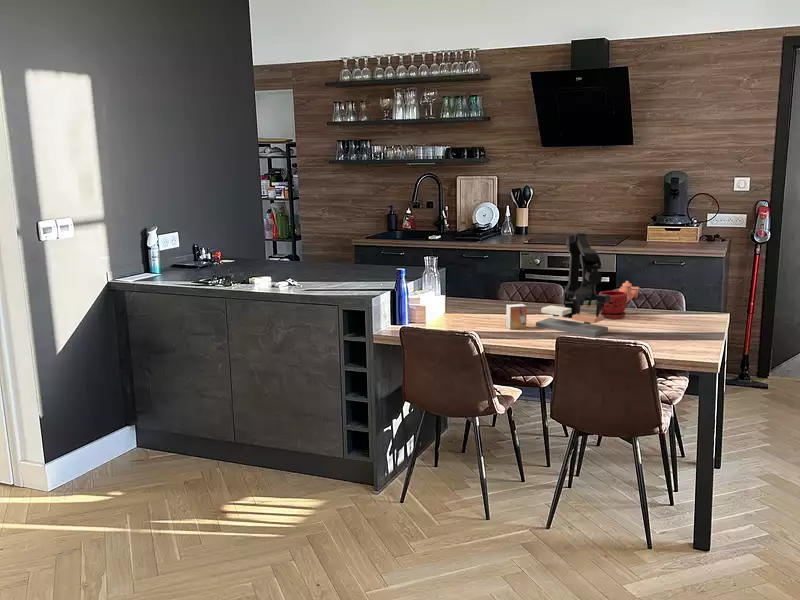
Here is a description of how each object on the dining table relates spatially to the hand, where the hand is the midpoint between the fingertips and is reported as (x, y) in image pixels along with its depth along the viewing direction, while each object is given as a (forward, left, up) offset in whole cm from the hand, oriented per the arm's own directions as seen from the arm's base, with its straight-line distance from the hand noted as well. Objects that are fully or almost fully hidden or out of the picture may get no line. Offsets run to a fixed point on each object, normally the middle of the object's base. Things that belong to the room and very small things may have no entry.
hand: (587, 315), depth 350 cm
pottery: (-82, -21, -8) cm, 85 cm away
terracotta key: (0, 0, -4) cm, 4 cm away
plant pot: (-33, -5, -8) cm, 34 cm away
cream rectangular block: (0, -16, -2) cm, 16 cm away
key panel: (0, -8, -7) cm, 11 cm away
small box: (+13, -29, -8) cm, 33 cm away
